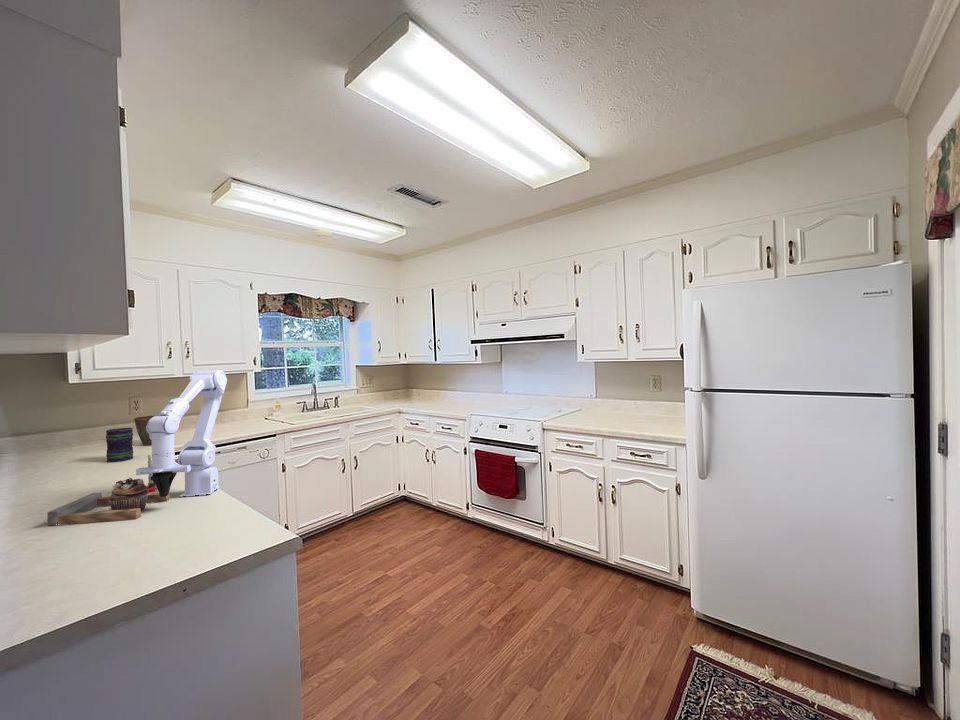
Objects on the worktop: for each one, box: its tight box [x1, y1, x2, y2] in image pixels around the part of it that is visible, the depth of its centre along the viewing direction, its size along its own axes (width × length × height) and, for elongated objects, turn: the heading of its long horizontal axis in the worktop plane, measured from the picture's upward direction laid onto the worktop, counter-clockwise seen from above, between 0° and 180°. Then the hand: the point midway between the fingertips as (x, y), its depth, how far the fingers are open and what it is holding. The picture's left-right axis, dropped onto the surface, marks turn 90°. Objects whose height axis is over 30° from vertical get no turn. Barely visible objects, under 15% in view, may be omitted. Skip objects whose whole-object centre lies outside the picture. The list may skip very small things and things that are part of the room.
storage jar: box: [105, 427, 134, 464], centre depth 196 cm, size 10×10×15 cm
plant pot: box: [133, 414, 159, 447], centre depth 234 cm, size 15×15×16 cm
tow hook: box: [145, 454, 158, 493], centre depth 145 cm, size 8×13×9 cm
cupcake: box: [108, 477, 149, 511], centre depth 127 cm, size 10×10×10 cm
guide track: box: [46, 491, 171, 526], centre depth 126 cm, size 22×17×4 cm
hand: (164, 495), depth 128 cm, fingers closed
